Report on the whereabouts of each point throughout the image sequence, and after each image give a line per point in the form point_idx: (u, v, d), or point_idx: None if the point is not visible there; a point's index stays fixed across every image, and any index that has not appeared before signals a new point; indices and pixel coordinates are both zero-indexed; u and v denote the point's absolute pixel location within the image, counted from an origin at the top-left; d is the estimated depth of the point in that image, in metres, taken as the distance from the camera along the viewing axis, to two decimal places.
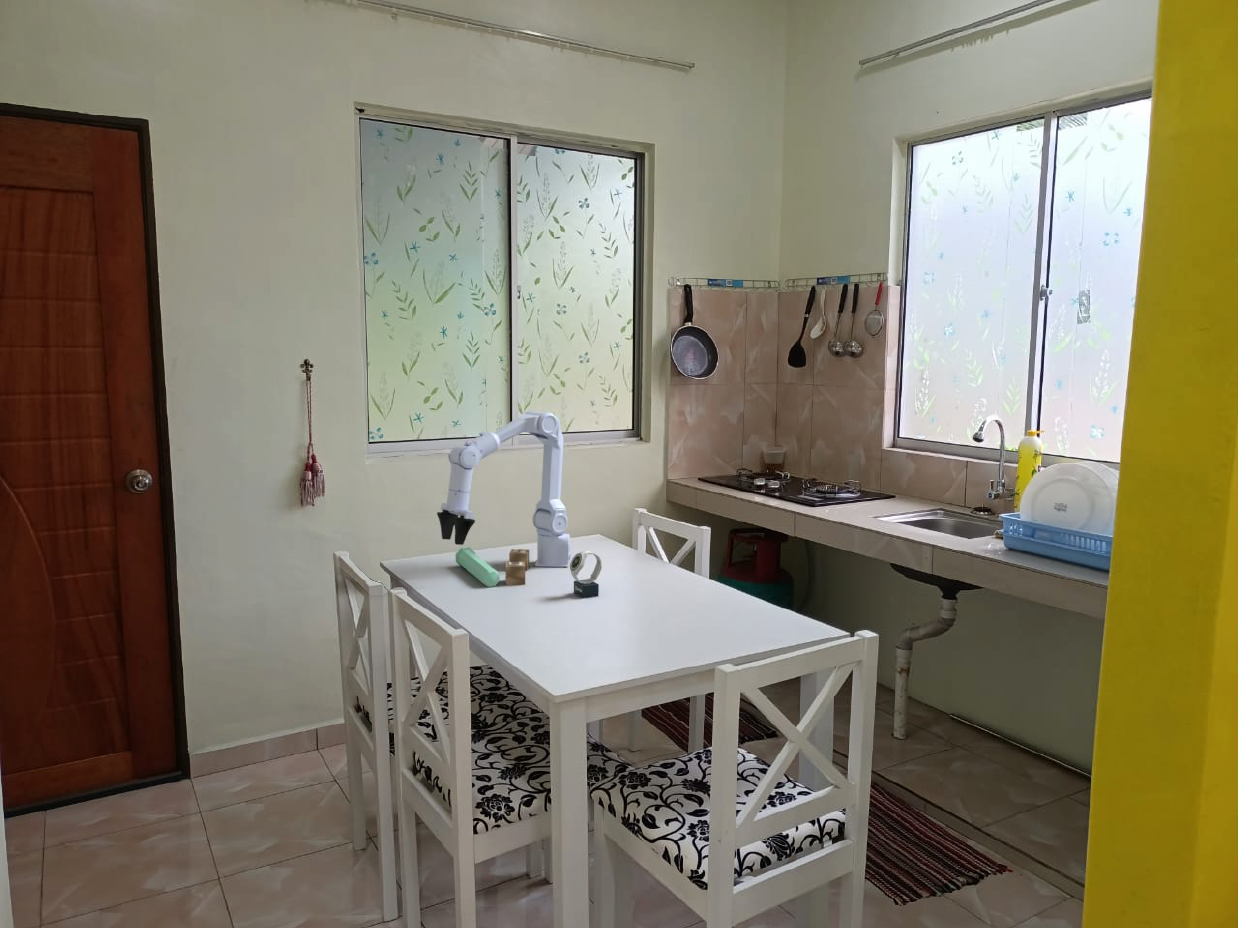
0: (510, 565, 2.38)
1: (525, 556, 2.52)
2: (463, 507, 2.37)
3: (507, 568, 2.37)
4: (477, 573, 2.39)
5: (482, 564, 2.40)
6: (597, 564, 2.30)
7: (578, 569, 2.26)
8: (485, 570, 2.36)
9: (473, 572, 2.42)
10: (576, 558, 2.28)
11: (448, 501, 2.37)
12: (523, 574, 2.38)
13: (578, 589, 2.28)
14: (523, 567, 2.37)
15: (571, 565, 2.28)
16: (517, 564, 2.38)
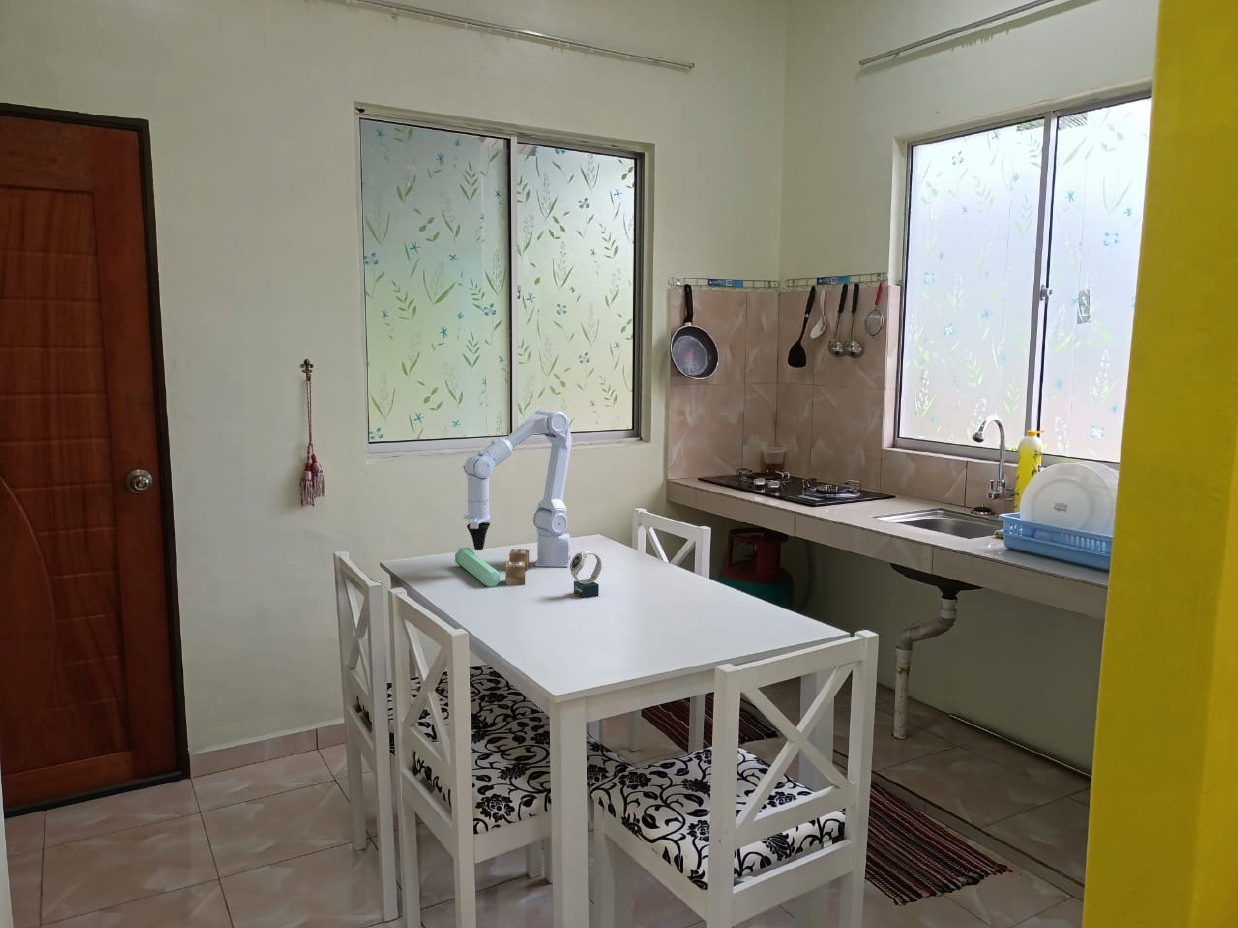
0: (510, 565, 2.38)
1: (525, 556, 2.52)
2: (478, 516, 2.42)
3: (507, 568, 2.37)
4: (477, 573, 2.39)
5: (482, 564, 2.40)
6: (597, 564, 2.30)
7: (578, 569, 2.26)
8: (485, 570, 2.36)
9: (473, 572, 2.42)
10: (576, 558, 2.28)
11: None
12: (523, 574, 2.38)
13: (578, 589, 2.28)
14: (523, 567, 2.37)
15: (571, 565, 2.28)
16: (517, 564, 2.38)
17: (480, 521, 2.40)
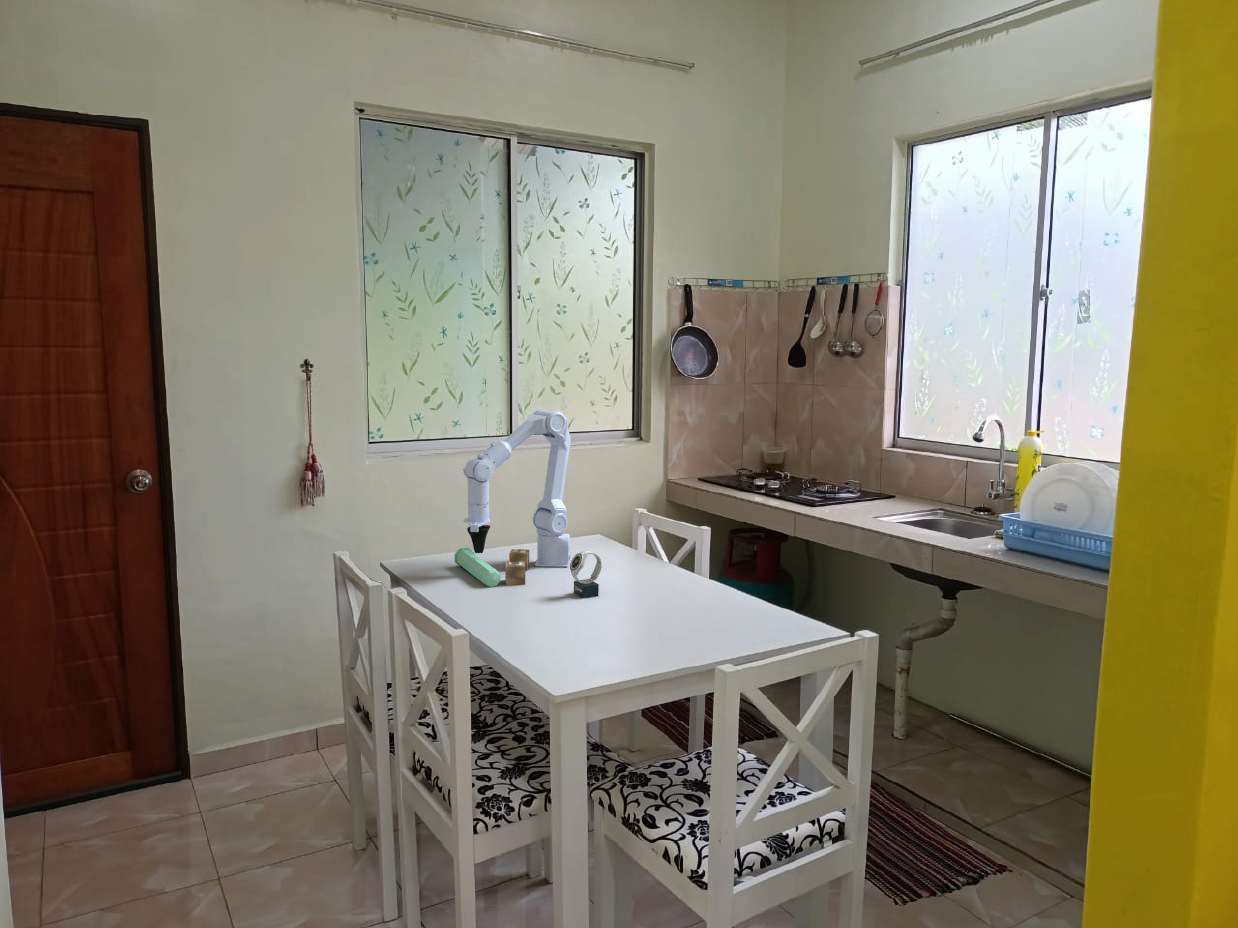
0: (510, 565, 2.38)
1: (525, 556, 2.52)
2: (478, 519, 2.42)
3: (507, 568, 2.37)
4: (478, 573, 2.39)
5: (482, 564, 2.40)
6: (597, 564, 2.30)
7: (578, 569, 2.26)
8: (485, 570, 2.36)
9: (473, 572, 2.42)
10: (576, 558, 2.28)
11: (468, 514, 2.44)
12: (523, 574, 2.38)
13: (578, 589, 2.28)
14: (523, 567, 2.37)
15: (571, 565, 2.28)
16: (517, 564, 2.38)
17: (480, 524, 2.40)
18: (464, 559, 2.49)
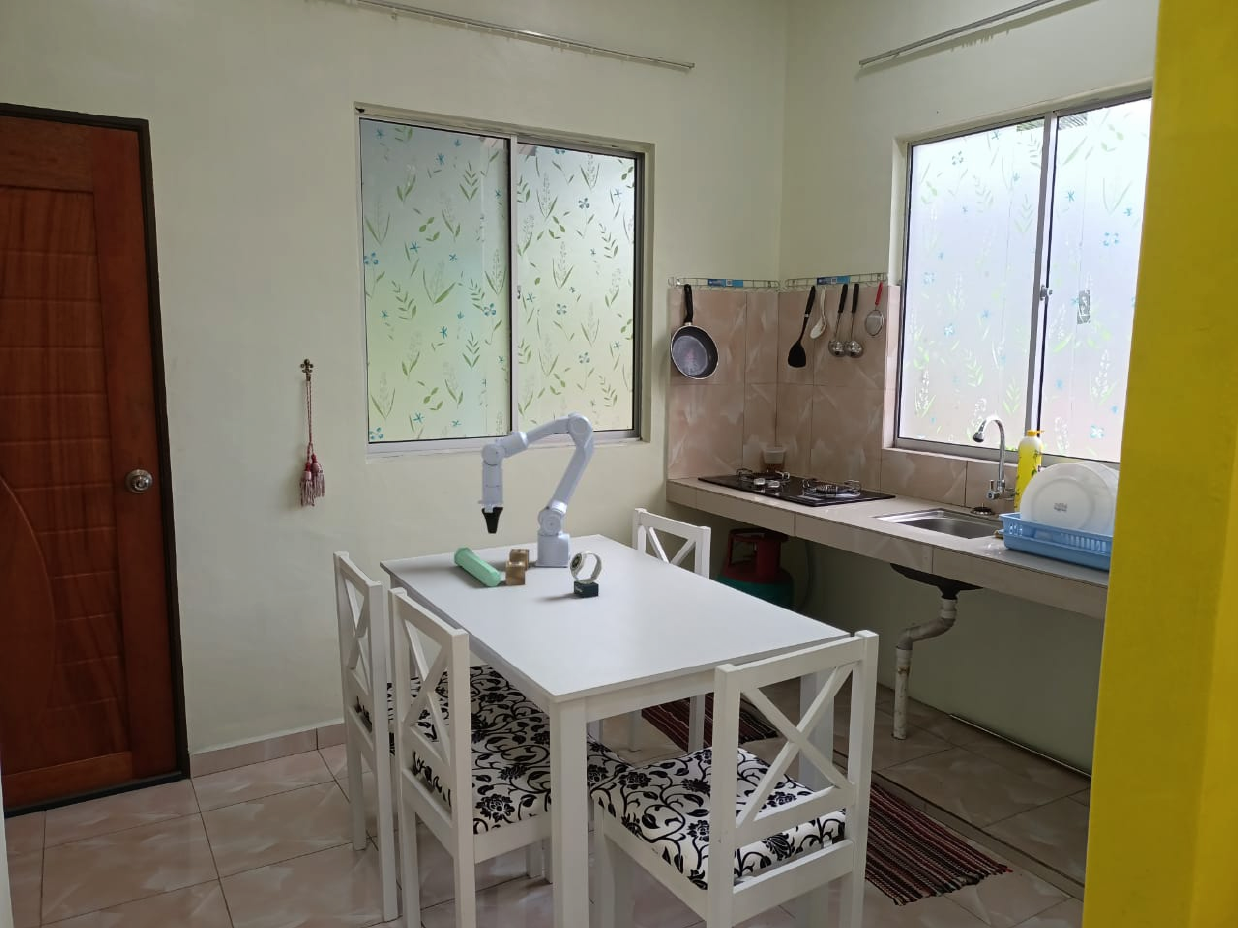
0: (510, 565, 2.38)
1: (525, 556, 2.52)
2: (492, 501, 2.52)
3: (507, 568, 2.37)
4: (478, 573, 2.39)
5: (483, 564, 2.40)
6: (597, 564, 2.30)
7: (578, 569, 2.26)
8: (486, 570, 2.36)
9: (473, 572, 2.42)
10: (576, 558, 2.28)
11: (482, 496, 2.55)
12: (523, 574, 2.38)
13: (578, 589, 2.28)
14: (523, 567, 2.37)
15: (571, 565, 2.28)
16: (517, 564, 2.38)
17: (494, 505, 2.50)
18: (464, 559, 2.49)
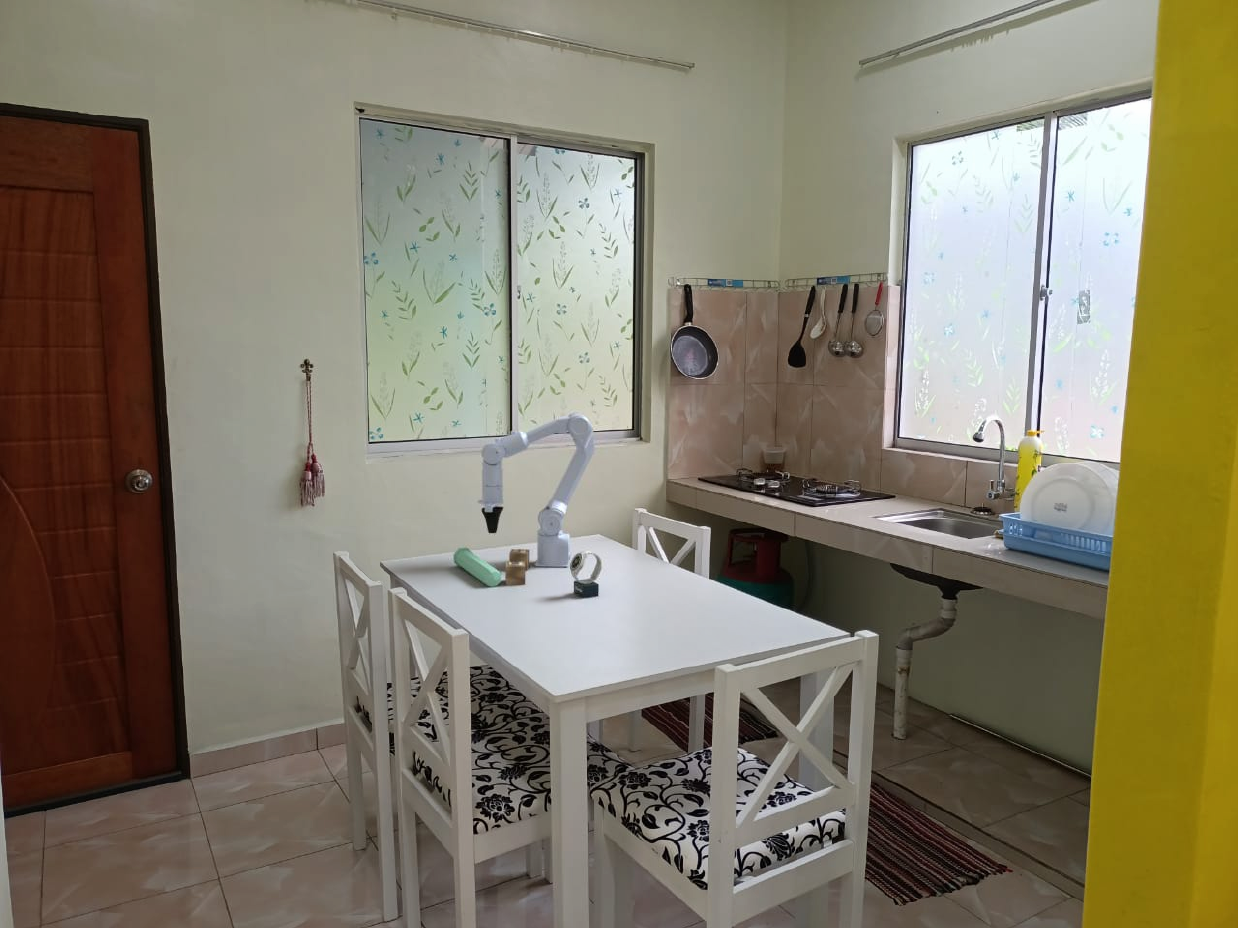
0: (510, 565, 2.38)
1: (525, 556, 2.52)
2: (492, 501, 2.52)
3: (507, 568, 2.37)
4: (478, 573, 2.39)
5: (483, 564, 2.40)
6: (597, 564, 2.30)
7: (578, 569, 2.26)
8: (486, 570, 2.36)
9: (473, 572, 2.42)
10: (576, 558, 2.28)
11: (482, 495, 2.55)
12: (523, 574, 2.38)
13: (578, 589, 2.28)
14: (523, 567, 2.37)
15: (571, 565, 2.28)
16: (517, 564, 2.38)
17: (494, 505, 2.50)
18: (464, 559, 2.49)
